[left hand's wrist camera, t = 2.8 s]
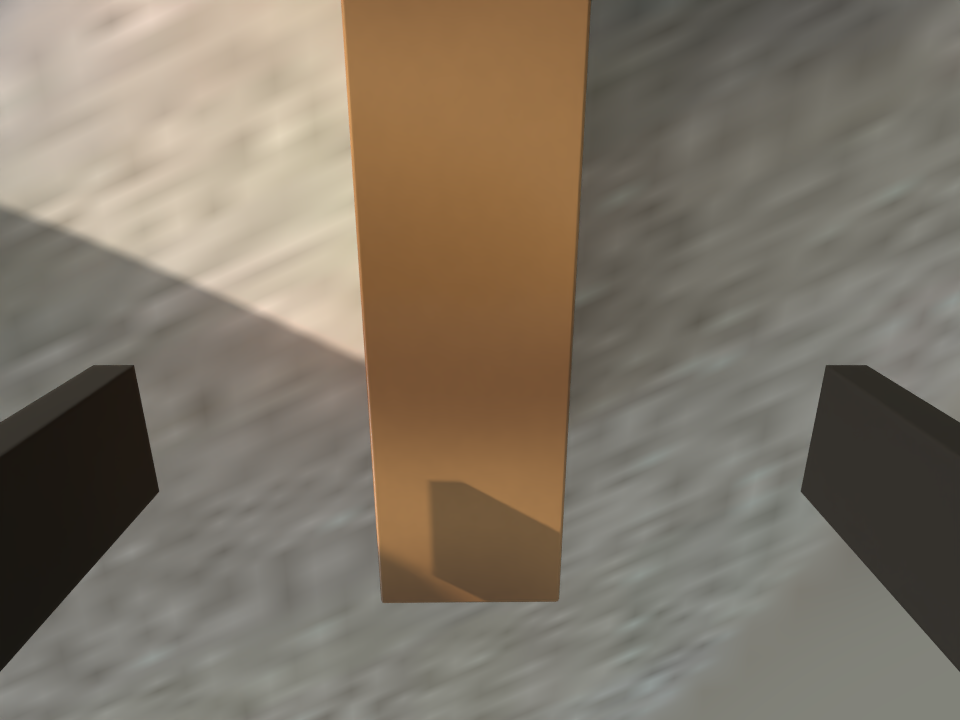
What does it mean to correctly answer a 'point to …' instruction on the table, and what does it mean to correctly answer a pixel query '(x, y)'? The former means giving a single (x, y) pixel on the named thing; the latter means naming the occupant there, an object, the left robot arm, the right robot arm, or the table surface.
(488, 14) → the beam
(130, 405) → the left robot arm
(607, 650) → the table surface
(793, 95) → the table surface
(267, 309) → the table surface
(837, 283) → the table surface
